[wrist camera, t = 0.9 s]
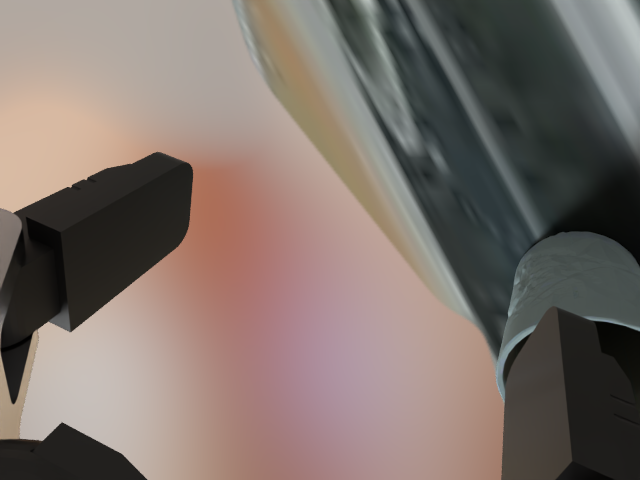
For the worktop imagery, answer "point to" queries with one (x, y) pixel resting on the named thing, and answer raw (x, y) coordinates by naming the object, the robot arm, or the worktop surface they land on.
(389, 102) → the worktop surface
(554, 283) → the grey green cup
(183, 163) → the robot arm
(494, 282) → the worktop surface
